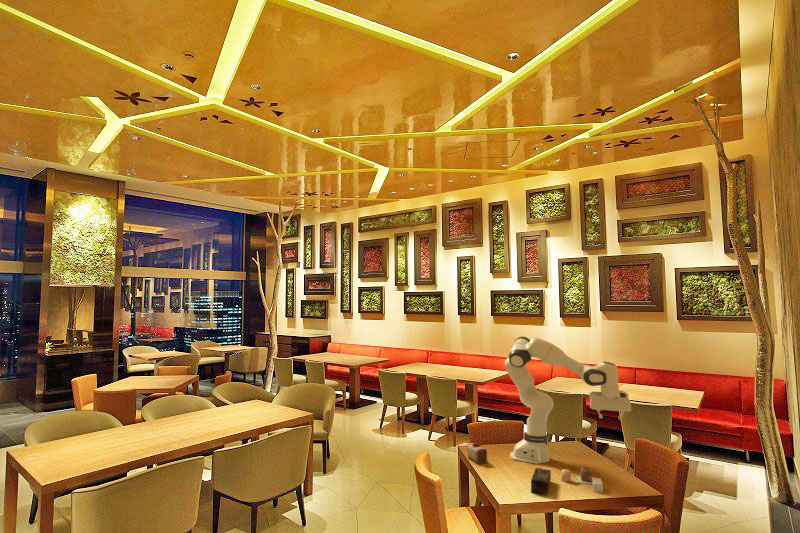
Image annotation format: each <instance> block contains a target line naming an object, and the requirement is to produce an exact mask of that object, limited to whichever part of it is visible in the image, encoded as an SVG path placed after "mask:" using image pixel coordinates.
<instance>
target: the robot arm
mask: <svg viewBox="0 0 800 533" xmlns="http://www.w3.org/2000/svg"><path fill="white" fill-rule="evenodd" d="M532 358H535V359H538V360H541V361H542V362H543V363H546V364H548V365H550V366H554V367H563V368H565V369H567V370H569V371H571V372H573V373H574V374H577V375H578V377H579V378H580V379H581V380H582V381H583V382H585V384H587V385H588V386H591V387H595V386H596V387H597V386H600V391H592V392H590V393H588V398H589V408H590V409H592V410H596V412H597V413H598V415H599V419H603V418H604V417H603V414H601V413H600V412H601V411H611V412H612V411H613V412H620V414H619V415H618V416H617V417H618V420H619V421H623V416H624V414H625V412H628V413H629V412H631V411H632V403H631V400H630V398H629V394H628V392H626V391H624V390H622V389H620V388H619V371H618V370H619V369H618V366H617V365H616V364H615V363H613V362H610V361H601V362H600V363H598V364H596V365H592V364H585V363H581V362H580V361H577V360H575V359H574V358H572V357H570V356H568V355H567V354H566V352H564V350H563V349H561V348H560V347H558V346H557V345H555V344H554V343H552V342H549V341H547V340H545V339H543V338H539V337H533V338H532V339H531V338H530V339H529V338H528V337H526V336H519V337H517V338H515V340H514V341H513V344H512V345H511V347H510V351H509V353H508V357H507V358H506V359H505V360H504V367H505V370H506V371H507V373H508V376H509V377H510V378H511V379H510V380H512V382H513V384H514V385H515V387H516V388H517V390H518V393H519V399H520V402H521V403H522V404H523V405H524V406H526V407H527V408H528V409H529V408H530V415H529V416H528V417H527V419H526V431H523V432H522V435H523V436H522V437H523V438H522V440H519V441H518V442H517V443H516V444H515V445H514V448H513V450H512V451H511V452H510V454H509V458H510V460H513V461H518V462H525V463H529V464H535V465H540V464H542V463H543V464H544V463H549V462H550V460H551V458H550V456H549V455H550V454H549V449H548V443H549V442H548V441H549V438H548V434H547V433H548V432H547V421H548V416H549V414H550V413H551V411H552V410H553V408H554V404H555V402H554V400H553V398H552V397H551V396H550V395H548V393H545V392H543V391H540V390H538V389H537V388H536V385H535V378H534V377H533V375H532V373H531V372H530V370H529V369H528V367H527V366H526V365H527V364H528V363H529V362H530V361H532Z"/></svg>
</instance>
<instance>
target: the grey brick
mask: <svg viewBox="0 0 800 533" xmlns="http://www.w3.org/2000/svg"><path fill="white" fill-rule="evenodd" d="M591 486H593V487H592V489H593V493H600V492H603V493H604V484H603V481H602V479H601V478H600V477H594V478H592V485H591Z"/></svg>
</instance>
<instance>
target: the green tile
mask: <svg viewBox="0 0 800 533" xmlns="http://www.w3.org/2000/svg"><path fill="white" fill-rule="evenodd" d="M575 477H576V480H577V484H580V485H581V484H583V485H591V486H592V482H586V481H582V480H581V475H576V476H575ZM592 478H595V477H593V476H592Z"/></svg>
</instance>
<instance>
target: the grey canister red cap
mask: <svg viewBox="0 0 800 533" xmlns="http://www.w3.org/2000/svg"><path fill="white" fill-rule="evenodd" d="M466 454H467V458H468V459H469V460H471V461H473V462H474V463H476V464H477V465H487V463H488V450H487V449H486V448H484V447H482V445H481V443H479V442H470V443H467V444H466Z"/></svg>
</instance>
